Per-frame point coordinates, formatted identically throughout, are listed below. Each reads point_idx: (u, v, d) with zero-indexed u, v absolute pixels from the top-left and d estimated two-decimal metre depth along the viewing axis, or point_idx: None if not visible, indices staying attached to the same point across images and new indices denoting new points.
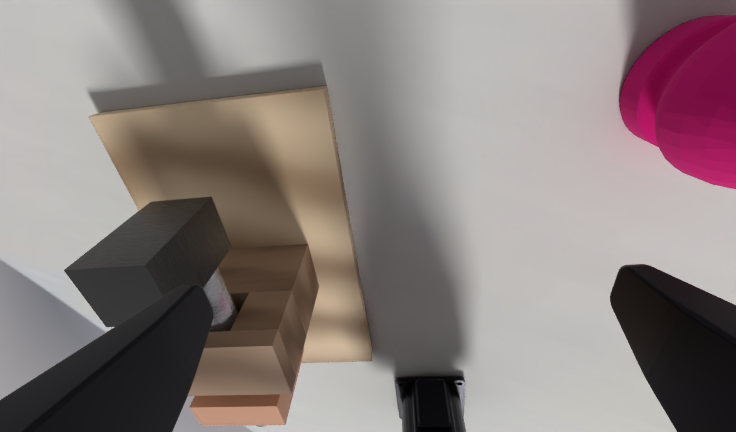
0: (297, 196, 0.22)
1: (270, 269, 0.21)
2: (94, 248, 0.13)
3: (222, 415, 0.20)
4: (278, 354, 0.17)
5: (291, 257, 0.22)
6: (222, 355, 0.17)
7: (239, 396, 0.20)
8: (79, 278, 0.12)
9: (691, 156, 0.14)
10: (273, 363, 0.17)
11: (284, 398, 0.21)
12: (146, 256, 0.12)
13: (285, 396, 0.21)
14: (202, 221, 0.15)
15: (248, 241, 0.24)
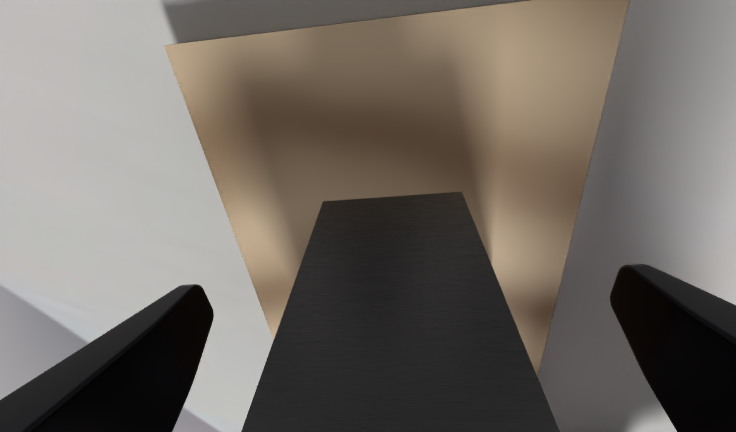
0: (502, 194, 0.13)
1: None
2: (277, 333, 0.05)
3: None
4: None
5: None
6: None
7: None
8: None
9: None
10: None
11: None
12: (518, 393, 0.04)
13: None
14: None
15: None
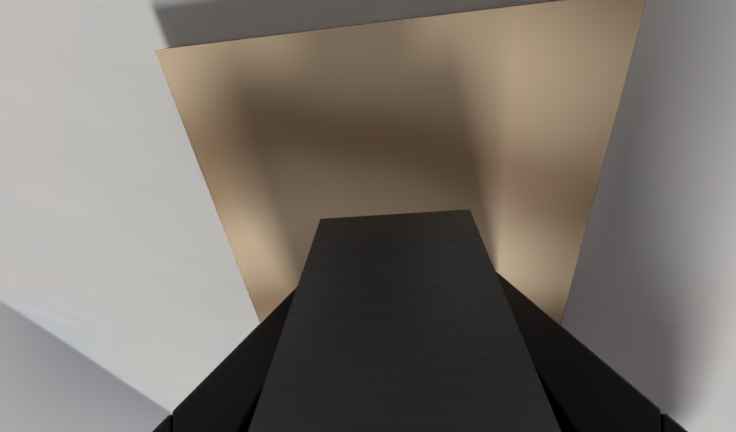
0: (509, 205, 0.12)
1: None
2: (267, 381, 0.04)
3: None
4: None
5: None
6: None
7: None
8: None
9: None
10: None
11: None
12: None
13: None
14: None
15: None
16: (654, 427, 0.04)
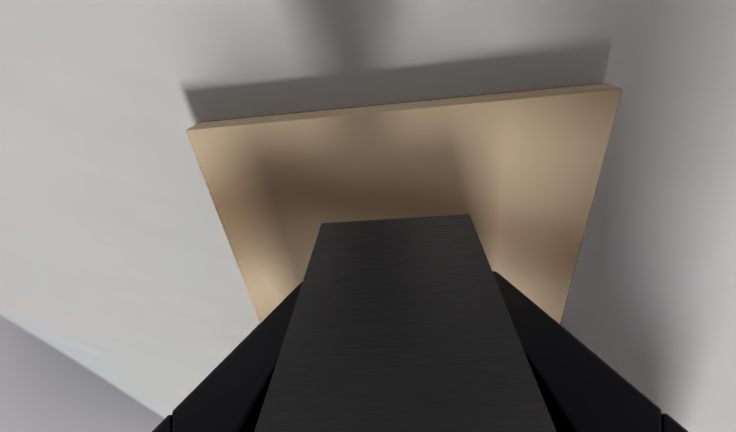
0: (502, 258, 0.14)
1: None
2: (271, 386, 0.04)
3: None
4: None
5: None
6: None
7: None
8: None
9: None
10: None
11: None
12: None
13: None
14: None
15: None
16: (655, 427, 0.04)
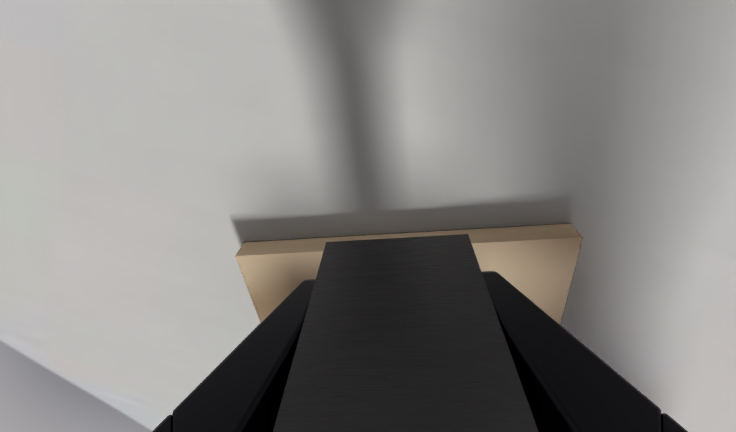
0: None
1: None
2: (281, 406, 0.05)
3: None
4: None
5: None
6: None
7: None
8: None
9: None
10: None
11: None
12: None
13: None
14: None
15: None
16: (654, 427, 0.04)
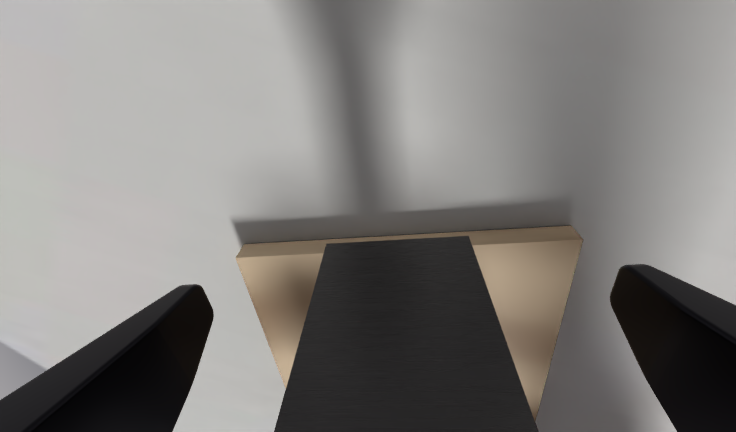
0: None
1: None
2: (282, 410, 0.05)
3: None
4: None
5: None
6: None
7: None
8: None
9: None
10: None
11: None
12: None
13: None
14: None
15: None
16: None
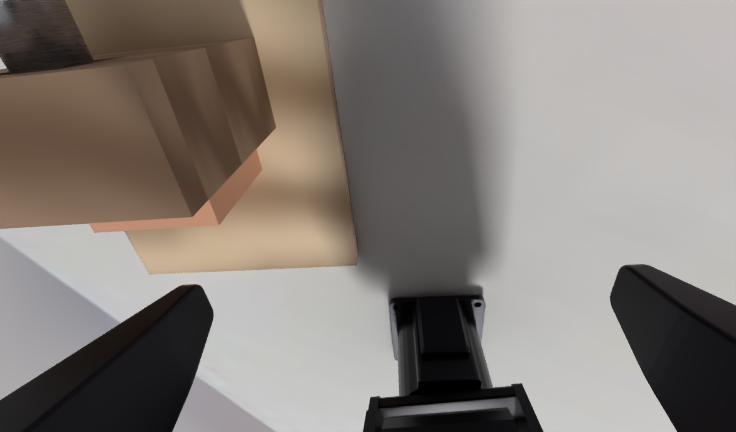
0: None
1: (181, 47, 0.13)
2: None
3: None
4: (150, 105, 0.08)
5: None
6: (30, 103, 0.08)
7: None
8: None
9: None
10: (140, 125, 0.08)
11: None
12: None
13: (222, 188, 0.14)
14: None
15: (158, 32, 0.15)
16: None
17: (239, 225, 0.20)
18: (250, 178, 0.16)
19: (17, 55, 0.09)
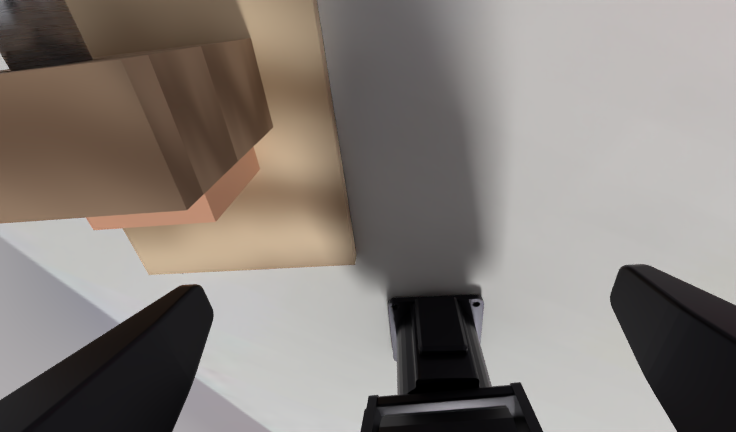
0: None
1: None
2: None
3: None
4: (145, 99, 0.08)
5: (218, 42, 0.14)
6: (29, 98, 0.08)
7: None
8: None
9: None
10: (135, 119, 0.08)
11: (215, 185, 0.14)
12: None
13: (219, 186, 0.14)
14: None
15: (158, 34, 0.15)
16: None
17: (237, 225, 0.20)
18: (247, 177, 0.17)
19: (18, 52, 0.09)
